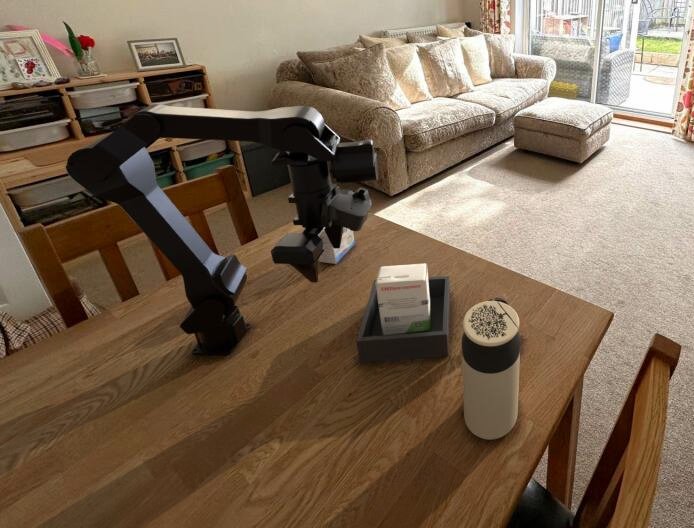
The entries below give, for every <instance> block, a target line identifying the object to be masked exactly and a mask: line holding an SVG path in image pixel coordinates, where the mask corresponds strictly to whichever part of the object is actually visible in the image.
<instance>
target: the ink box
mask: <svg viewBox="0 0 694 528" xmlns="http://www.w3.org/2000/svg"><path fill="white" fill-rule="evenodd" d="M428 273H429V271H428V263H427V262H426V263H413V264H412V263H411V264H399V265H385V266H380V267H379V269H378V272H377V275H376V279H375V280H376V290H377V298H378V305H379V312H380V319H381V326H382V333H383V335H393V334H402V333H411V332H421V331H429V330H430V328H431V306H430V295H429V283H428V277H429V274H428Z"/></svg>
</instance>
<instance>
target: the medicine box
mask: <svg viewBox="0 0 694 528" xmlns="http://www.w3.org/2000/svg"><path fill="white" fill-rule="evenodd" d="M354 236H355V235H354V231H351V230H350V229H348V228H345V227H344V228H343V234H342V240H341V246H340V248H339V249H336V248H333V246H332V244H331V243H330V241H329V239H328V237H327V235H326V232H325V230H323V232H322V233H321V234H320V236H319V237H321V238H322V240H323V249H325V250H324V252H323V253H322V255H321V256H320V258H319V259H318V262H320V263H327V264H332V265H333V264H334V265H336V264H338V263H339V262H340V260H341V259H343V258H344V256H346V254H347V253H348V252H349V251H350V250H351V249H352V248H353V247H354V246H355V243H356V241H355V237H354Z"/></svg>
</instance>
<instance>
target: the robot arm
mask: <svg viewBox="0 0 694 528" xmlns="http://www.w3.org/2000/svg"><path fill="white" fill-rule="evenodd" d="M159 139H181V140H204V141H228V142H249V143H257V144H260V145H262V146H266V147H267V148H270V149H273V150H277V151H279V152H277V153H276V154H275V156H274V157H273V159H272V160H271V162H270V165H271V166H273V167H276V166H287V169H288V175H289V179H290V184H291V189H292V190H291V191H292V193H291V194H290V195H289V196H288V197H287V201H288V204H295V209H296V214H297V215H296V216H295V217H294V218H293V219H292V223H293V224H292V225H293V226H301V227H302V228H303V229H304V230H303V231H302V232H299V233H298V232H287V233H285V235H284V236H283V237H282V238H281V239H280V240H279V241H278V242H277V243H276V244H275V246H274V247H272V249H271V250H270V254H271V255H270V256H271V259H272V262H273V263H274V264H275V265H290V266H291V267H293V268H294V269H295V270H297V271H298V272H299V273H300V274H301V275H302V276H303V277H304V278H305V279H306V280H308V281H309V282H310V283H312V284H313V283H318V281H319V263H318V262H319V258H320V256H321V255H322V253H323V252H324V250H325V249H323V240H322V238H321V237H319V236H320V234H321V233H322V232H323V230H325V232H326V235H327V237H328V239H329V241H330V243H331V244H332V246H333V248H336V249H339V248H340V246H341V240H342V234H343V228H344V227H345V228H348V229H350V230H351V231H353V232H359V231H361V229H362V228H363V226H364V224H365V222H367V220H368V216H369V213H370V209H371V208H372V206H373V203H372V199H371V197H370V194H369V190H368V189H366V188H363V187H359V188H357V189H356V190H355V191H354V192H353V190H351V189H340V187H339V186H338V184H339V183H340V184H342V185H343V184H354V183H364V182H375V181H378V180H379V169H378V167H379V166H378V157H377V153H376V151H375V146H374V140H373V139H364V140H359V141H350V142H347V141H346V142H341V137H340V136H339V135H338V134H337V133H336V132H335V131H334V130H332V129H331V128H330V127H329V126H328V125H327V124H326V123H325V119H324V117H323V115H322V114H321V113H320V111H318V110H317V109H316V108H314V107H312V106H309V105H294V106H282V107H277V108H273V109H268V110H260V111H259V110H258V111H254V110H253V111H251V110H250V111H249V110H238V109H237V110H236V109H221V108H205V107H188V106H174V105H173V106H170V105H167V104H162V103H153V104H150V105H148V106H146V107H145V108H142V109H140V110H138V111H137V112H135V113H133V114H132V115H131V116H130V118H129V119H128V120H127V121H125V123H123V124H122V125H120V126H119V127H118V128H117V129H115V130H114V131H113V132H111V133H107V134H105V135H103V136H101V137H100V138H97V139H96V140H94V141H92V142H90V143H89V144H86V145H84V146H82V147H81V148H79V149H77V150H75V151H73V152H72V153H71V154H70V155H69V156H68V157H67V162H66V165H65V166H64V167H65V171H66V173H67V175H68V176H69V177H70V178H71V179H72V180H73V181H74V182H76V183H77V184H78V185H80V187H82V188H83V189H85V190H86V192H88V193H90V194H91V195H92V196H93V197H97V198H99V199H103V200H105V201H108V202H111V203H113V204H116V205H118V207H120V208H121V209H122V210H123V211H124V212H125V213H126V214H127V216H129V218H130V219H131V220H132V221H133V222H134V224H135V225H136V226H137V227H138V228H139V229H140V230H141V232H143V233H144V235H145V236H146V237H147V238H148V239H149V240H150V241H151V243H152V244H154V246H155V247H156V248H157V249H158V251H160V252H161V254H162V255H163V256H164V257H165V258H166V259H167V260H168V261H169V263H170V264H171V265H172V266H173V267H174V268H175V270H177V271H178V273H179V274H181V276H182V281H183V286H184V293H185V297H186V299H187V301H188V302H189V304H190V306H191V307H190V308H189V310H188V311H187V313H186V314H185V316H184V318H183V319H182V321H181V323H180V324H179V328H180V329H181V330H183V332H184V333H185V334H186V335H192V334H194V337H195V340H196V343H197V344H196V345H195V346H194V348H193V349H192V350H191V355H193V356H229V355H231V354H232V352H233V351H234V350H235V348H236V347H237V346H238V344H239V343H240V342H241V341H242V339H243V338H244V337H245V336H246V334H247V333H248V332H249V330H250V329H251V327H252V324H251V323H250V322H249V323H248V322H245V319H244V315H243V314H242V313H241V312H240V308H239V305H236V304H237V302H238V300H239V298H240V295H241V294H242V292H243V289H244V287H245V286H246V283H247V280H248V275H247V271H248V268H247V267H246V266H244V265H243V264H242V263H241V262H240V261H239V259H238V257H237V255H235V253H231V254H229V255H228V256H224V255H220V254H217V253H214V251H213V250H212V249H211V248H210V247H209V246H208V244H207V243H206V242H205V241H204V240H203V237H201V236H200V235H199V233H198V232H197V231H196V230H195V228H194V227H193V226H192V225H191V224H190V222H189V221H188V220H187V218H185V216H184V215H183V214H182V212H181V211H180V210H179V209H178V208H177V206H176V205H175V204H174V203H173V202H172V200H171V199H170V198H169V197H168V195H166V193H165V192H164V191H163V190H162V189H161V187H160V186H159V184H158V182H157V174H156V170H155V163H154V161H153V159H152V157H151V156H150V154H149V152H148V149H149V147H151V146H152V145H153V144H154V143H155V142H157V141H158V140H159ZM329 162H330V166H329ZM330 170H331V172H330ZM331 176H332V178H333V179H335V182H336V183H332V178H331ZM337 183H338V184H337Z"/></svg>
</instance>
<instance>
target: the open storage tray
mask: <svg viewBox="0 0 694 528" xmlns="http://www.w3.org/2000/svg"><path fill="white" fill-rule="evenodd" d="M376 280H377V279H375V280H373V284H372V287H371V290H370V293H369V297H368V300H367V304H366V306H365V307H366V308H365V311H364V314H363V318H362V320H361V325H360V327H359V332H358V335H357V339H356V347H357V351H358V352H357V353H358V361H359V364H372V363H373V364H374V363H385V362H394V361H395V362H396V361H408V360H419V359H431V358H432V359H433V358H444V357H449V343H450V342H449V341H450V318H451V317H450V315H451V314H450V313H451V281H450V275H437V276H428V283H429V295H430V306H431V328H430V330H429V331H421V332H411V333H402V334H393V335H383V333H382V326H381V319H380V312H379V305H378V298H377V290H376Z"/></svg>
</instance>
